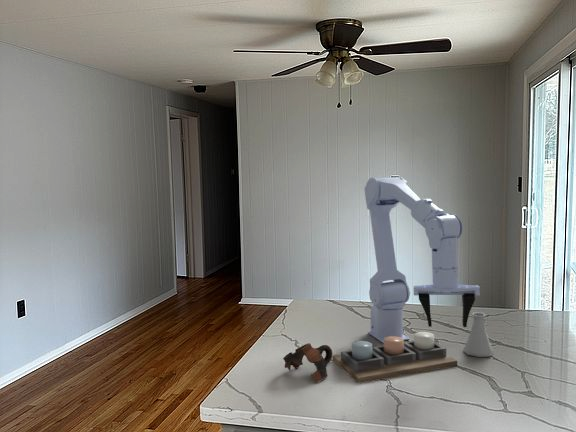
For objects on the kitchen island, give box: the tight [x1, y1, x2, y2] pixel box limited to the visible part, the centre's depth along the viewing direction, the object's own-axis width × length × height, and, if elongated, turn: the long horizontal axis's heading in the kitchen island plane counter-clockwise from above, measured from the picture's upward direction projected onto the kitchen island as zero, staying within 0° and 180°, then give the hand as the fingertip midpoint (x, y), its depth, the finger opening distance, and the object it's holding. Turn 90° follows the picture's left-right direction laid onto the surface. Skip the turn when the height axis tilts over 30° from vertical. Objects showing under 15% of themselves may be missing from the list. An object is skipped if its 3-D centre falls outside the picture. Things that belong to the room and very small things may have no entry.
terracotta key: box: [383, 336, 405, 356], centre depth 126 cm, size 5×5×3 cm
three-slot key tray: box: [332, 340, 458, 384], centre depth 126 cm, size 14×26×3 cm, turn 109°
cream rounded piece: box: [413, 331, 435, 351], centre depth 128 cm, size 5×5×3 cm
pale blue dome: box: [351, 340, 373, 361], centre depth 123 cm, size 5×5×3 cm
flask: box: [462, 312, 494, 358], centre depth 131 cm, size 7×7×10 cm
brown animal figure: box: [282, 342, 333, 384], centre depth 121 cm, size 12×10×8 cm
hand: (447, 325), depth 120 cm, fingers open, 7 cm apart
